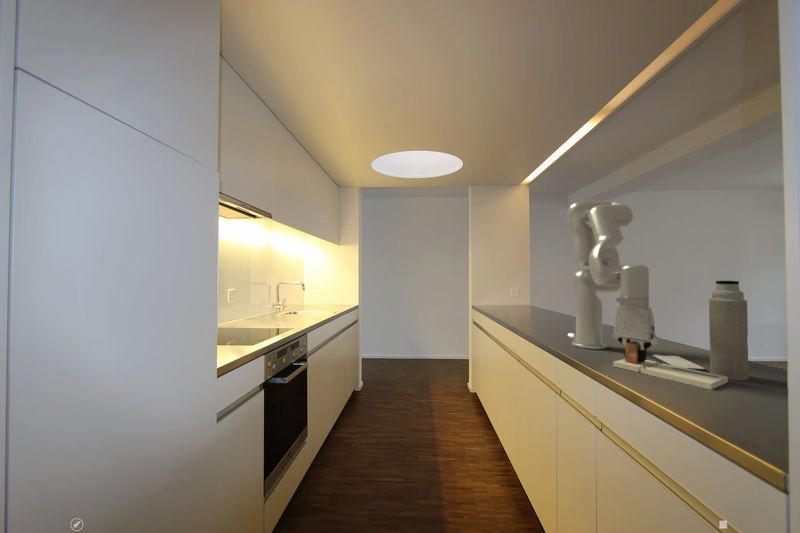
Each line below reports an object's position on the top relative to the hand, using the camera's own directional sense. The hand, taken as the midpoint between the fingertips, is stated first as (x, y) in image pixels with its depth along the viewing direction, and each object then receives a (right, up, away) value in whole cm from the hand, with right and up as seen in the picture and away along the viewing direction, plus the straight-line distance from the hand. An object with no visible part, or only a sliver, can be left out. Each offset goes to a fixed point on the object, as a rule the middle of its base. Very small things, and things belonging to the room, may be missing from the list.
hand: (634, 359), depth 106 cm
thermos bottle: (+21, -2, -9) cm, 23 cm away
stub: (0, -2, 0) cm, 2 cm away
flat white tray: (+6, -2, -11) cm, 12 cm away
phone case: (+16, -3, +3) cm, 17 cm away
